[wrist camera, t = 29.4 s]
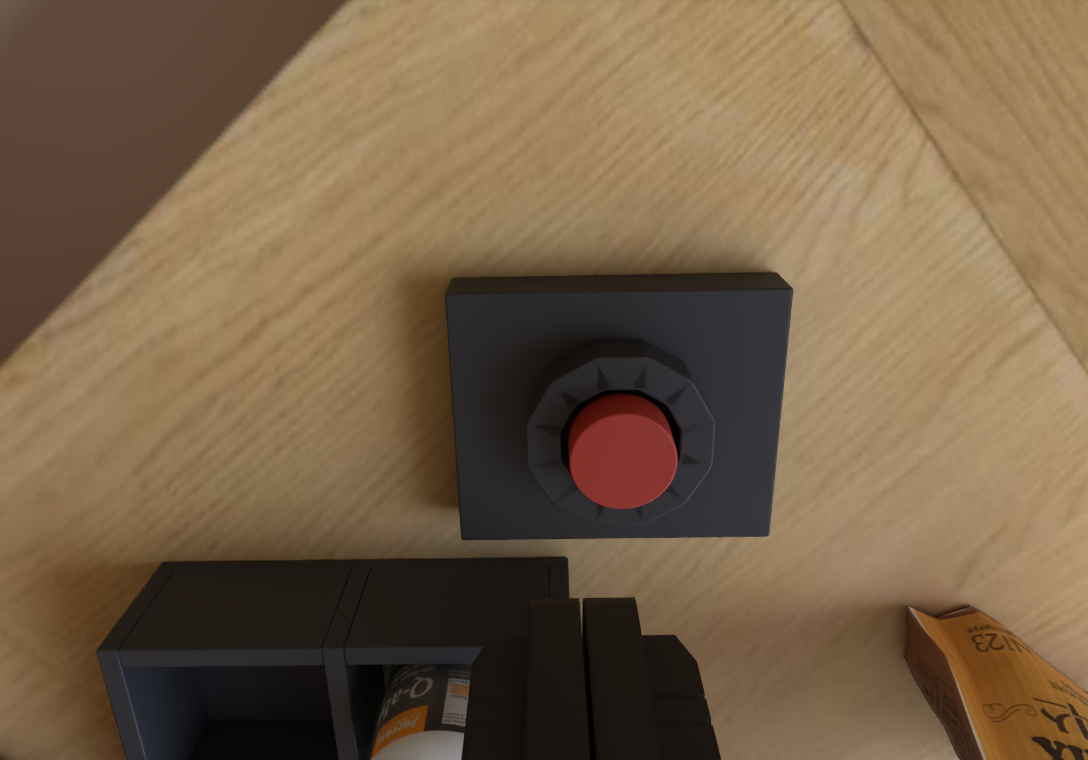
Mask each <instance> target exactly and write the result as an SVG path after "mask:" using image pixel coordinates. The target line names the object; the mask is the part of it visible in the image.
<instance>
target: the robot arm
mask: <svg viewBox="0 0 1088 760" xmlns="http://www.w3.org/2000/svg"><path fill="white" fill-rule="evenodd" d="M461 760H721V757H720V753H719V749H718V745H717V741H716V737H715V733H714V729H713V726H712V725H711V717H710V713H709V709H708V705H707V701H706V699H705V695H704V689H703V685H702V681H701V677H700V673H699V669H698V665H697V661H696V660H695V659H694V658H693V656H692V655H691V654H690V653H689V652H688V650H687V649H686V648H685V647H684V646H683V644H682V643H681V642H680V641H679V639H678V638H677V637H676V636H675V635H642V634H641V628H640V622H639V616H638V610H637V604H636V600H635V598H634V597H628V598H583V617H582V632H581V618H580V603H579V598H565V599H528V609H527V637H490V638H489V639H488V641H487V642H486V644H485V645H484V647H483V648H482V650H481V651H480V653H479V654H478V656H477V657H476V659H475V660H474V662H473V663H472V666H471V675H470V684H469V694H468V703H467V712H466V721H465V730H464V739H463V748H462V758H461Z"/></svg>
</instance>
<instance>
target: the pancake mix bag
mask: <svg viewBox="0 0 1088 760" xmlns="http://www.w3.org/2000/svg"><path fill="white" fill-rule="evenodd" d="M904 658H905V660H906V662H907V664H908V667H909V669H910V671H911V673H912V675H913V677H914V680H915V681H916V683H917V685H918V687H919V688H920V690H921V692H922V693H923V695H924V697H925V699H926V700H927V702H928V704H929V706H930V707H931V709H932V710H933V712H934V713H935V714H936V716H937V717H938V719H939V720H940V722H941V723H942V725H943V726H944V729H945V731H946V733H947V735H948V737H949V739H950V742H951V744H952V746H953V748H954V750H955V752H956V755H957V756H958V758H959V759H960V760H1088V693H1087V692H1085V691H1084V690H1083V689H1082V688H1080V687H1079V686H1078V685H1076V684H1075V683H1074V682H1072V681H1071V680H1070V679H1069V678H1067V677H1066V676H1065V675H1063V674H1062V673H1061V672H1060V671H1058V670H1057V669H1056V668H1054V667H1053V666H1052V665H1050V664H1049V663H1048V662H1046V661H1045V660H1044V659H1043V658H1041V657H1040V656H1039V655H1038V654H1037V653H1035V652H1034V651H1033V650H1032V649H1031V648H1030V647H1029V646H1027V645H1026V644H1025V643H1024V642H1023V641H1022V640H1020V639H1019V638H1018V637H1017V636H1015V635H1014V634H1013V633H1011V632H1010V631H1009V630H1007V629H1006V628H1005V627H1004V626H1002V625H1001V624H1000V623H998V622H997V621H996V620H994V619H992V618H991V617H989V616H987V615H986V614H984V613H982V612H981V611H979V610H977V609H975V608H974V607H972V606H971V607H968V608H965V609H962V610H958V611H955V612H952V613H949V614H946V615H943V616H939V617H934V616H931V615H929V614H926V613H924V612H921V611H919V610H916V609H914V608H911V607H908V606H907V632H906V640H905V649H904Z"/></svg>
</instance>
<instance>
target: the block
mask: <svg viewBox="0 0 1088 760" xmlns="http://www.w3.org/2000/svg"><path fill="white" fill-rule="evenodd" d="M792 296H793V288H792V287H791V286H790V285H789V284H788V283H787V282H786V281H785V280H784V279H783V278H782V277H781V276H780V275H779V274H778V273H716V274H656V275H596V276H537V277H477V278H452V280H451V282H450V285H449V287H448V290H447V292H446V294H445V304H446V319H447V333H448V348H449V363H450V378H451V393H452V408H453V422H454V437H455V452H456V467H457V482H458V496H459V511H460V526H461V538H462V540H511V539H597V538H682V537H767V536H769V531H770V520H771V510H772V500H773V490H774V480H775V469H776V459H777V449H778V439H779V429H780V419H781V408H782V398H783V388H784V378H785V368H786V357H787V347H788V337H789V327H790V317H791V306H792ZM616 393H627V394H633V395H637V396H640V397H643V398H645V399H647V400H649V401H650V402H652V403H653V404H654V405H656V406H657V407H658V408H659V409H660V410H661V411H662V413H663V414H664V416H665V417H666V419H667V421H668V424H669V427H670V430H671V433H672V436H673V440H674V443H675V446H676V450H677V459H678V462H677V468H676V472H675V475H674V477H673V480H672V481H671V483H670V485H669V486H668V487H667V488H666V490H665V491H664V492H663V493H662V494H661V495H660V496H658V497H657V498H656V499H654V500H652V501H651V502H649V503H647V504H644V505H642V506H639V507H635V508H629V509H615V508H609V507H605V506H602V505H600V504H597V503H595V502H593V501H592V500H590V499H589V498H587V497H586V496H585V495H584V494H583V493H582V492H581V491H580V490H579V489H578V487H577V486H576V484H575V483H574V481H573V478H572V476H571V472H570V466H569V446H568V438H569V431H570V428H571V425H572V422H573V421H574V419H575V417H576V416H577V414H578V413H579V412H580V411H581V410H582V409H583V408H584V407H585V406H586V405H587V404H589V403H590V402H592V401H593V400H595V399H597V398H600V397H602V396H605V395H610V394H616Z"/></svg>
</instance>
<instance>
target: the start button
mask: <svg viewBox="0 0 1088 760" xmlns="http://www.w3.org/2000/svg"><path fill="white" fill-rule="evenodd" d="M568 446H569V466H570V472H571V476H572V478H573V481H574V483H575V484H576V486H577V487H578V489H579V490H580V491H581V492H582V493H583V494H584V495H585V496H586V497H587V498H589V499H590V500H592V501H593V502H595V503H597V504H600V505H602V506H605V507H609V508H615V509H629V508H635V507H639V506H642V505H644V504H647V503H649V502H651V501H652V500H654V499H656V498H657V497H658V496H660V495H661V494H662V493H663V492H664V491H665V490H666V488H667V487H668V486H669V485H670V483H671V481H672V480H673V477H674V475H675V472H676V468H677V462H678V459H677V450H676V446H675V443H674V440H673V436H672V433H671V430H670V427H669V424H668V421H667V419H666V417H665V416H664V414H663V413H662V411H661V410H660V409H659V408H658V407H657V406H656V405H654V404H653V403H652V402H650V401H649V400H647V399H645V398H643V397H640V396H637V395H633V394H627V393H616V394H610V395H605V396H602V397H600V398H597V399H595V400H593V401H592V402H590V403H589V404H587V405H586V406H585V407H584V408H583V409H582V410H581V411H580V412H579V413H578V414H577V416H576V417H575V419H574V421H573V422H572V425H571V428H570V431H569V438H568Z"/></svg>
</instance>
